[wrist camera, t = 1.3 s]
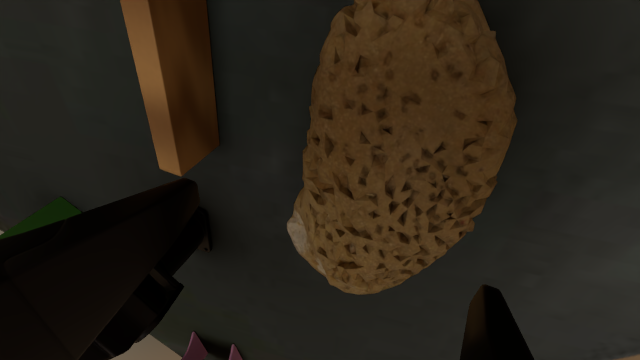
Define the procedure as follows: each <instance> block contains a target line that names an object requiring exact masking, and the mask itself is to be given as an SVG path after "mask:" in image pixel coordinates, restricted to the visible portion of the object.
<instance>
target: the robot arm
mask: <svg viewBox="0 0 640 360" xmlns="http://www.w3.org/2000/svg"><path fill="white" fill-rule="evenodd" d="M199 202H200V198H199V193H198V187H197V184H196V182H195V181H192V180H190V179H187V178H182V179H179V180H176V181H173V182H170V183H167V184H164V185H162V186H159V187H156V188H153V189H150V190H147V191H144V192H141V193H138V194H135V195H133V196H130V197H127V198H124V199H121V200H118V201H115V202H112V203H109V204H107V205H104V206H101V207H98V208H95V209H92V210H89V211H86V212H83V213H80V214H77V215H75V216H72V217H69V218H67V219H66V220H65V219H63V220H60V221H57V222H54V223H51V224H48V225H45V226H42V227H39V228H36V229H33V230H30V231H27V232H23V233H20V234H17V235H13V236H10V237H6V238H3V239H0V360H109V359H112V358H114V357H116V356H118V355H120V354H123V353H124V352H126V351H127V350H129V349H130V348H131V346H132V345H133V344H134V343H137V342H139V341H141V340H142V339H143V338H145V337H146V336H147V335H148V334H149V333H150V332H151V331H152V330H153V329H154V328H155V327H156V326H157V325H158V324H159V322H160V321H161V320H162V318H163V317H164V316H165V314H166V313H167V311H168V310H169V308H170V307H171V305H172V304H173V302H174V301H175V300H176V298H177V297H178V295H179V294H180V292H181V291H182V289H183V288H184V286H183V285H182V284H181V283H179V282H178V281H177V280H175V279H174V278H173V277H172V276H173V275H174V273H175V272H176V271H177V270H178V269H179V268H180V267H181V266H182V265H183V263H184V262H185V261H186V260H187V259H188V258H189V257H190V256H191V255H192V253H193V252H194V251H195V250H196V249H197V248H198V249H200V250H203V251H205V252H210V251H211V250H212V245H211V238H210V231H209V224H208V217H207V213H206V211H205V210H203V209H201V208H199V207H198V206H199ZM460 360H534V358H533V356H532V354H531V352H530V350H529V348H528V346H527V344H526V342H525V340H524V338H523V336H522V334H521V332H520V330H519V328H518V326H517V324H516V322H515V320H514V318H513V316H512V313H511V311H510V309H509V307H508V305H507V303H506V301H505V299H504V297H503V295H502V293H501V292H500V290H499V289H497V288H494V287H491V286H488V285H485V284H484V285H482V286H481V287H480V288H479V290H478V291H477V293H476V294H475V296H474V298H473V299H472V301H471V303H470V306H469V310H468V316H467V322H466V327H465V333H464V339H463V344H462V350H461V356H460Z"/></svg>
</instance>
